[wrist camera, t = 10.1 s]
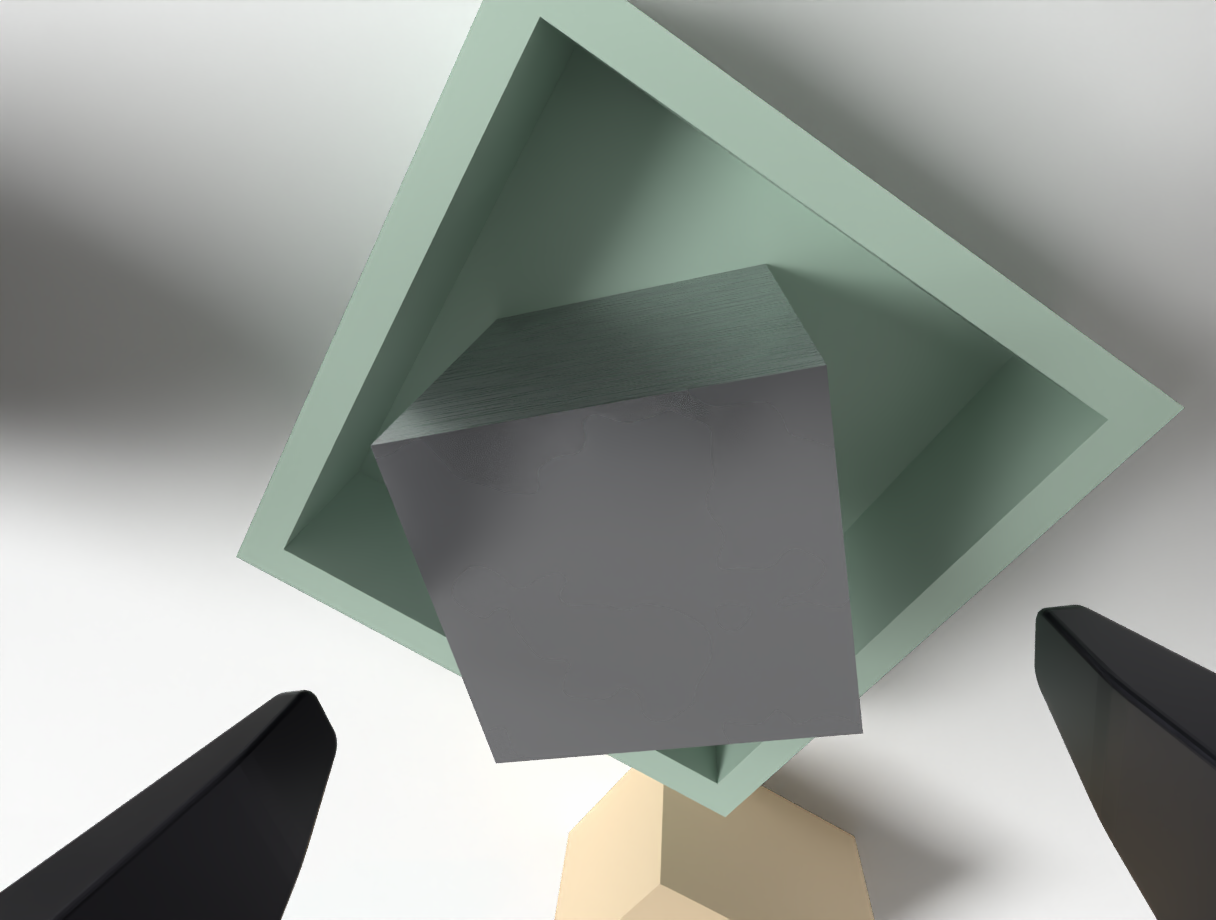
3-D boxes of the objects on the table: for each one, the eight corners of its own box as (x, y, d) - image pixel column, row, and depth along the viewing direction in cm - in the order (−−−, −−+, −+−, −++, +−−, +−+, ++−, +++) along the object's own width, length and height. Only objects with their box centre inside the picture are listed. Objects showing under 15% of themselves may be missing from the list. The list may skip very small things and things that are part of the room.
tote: (333, 464, 19) (236, 557, 15) (568, -17, 13) (518, -80, 9) (717, 682, 21) (725, 817, 17) (1053, 334, 15) (1184, 407, 11)
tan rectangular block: (569, 828, 24) (543, 986, 20) (665, 728, 22) (659, 884, 17) (743, 917, 25) (756, 1085, 21) (853, 832, 23) (893, 1002, 18)
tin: (561, 542, 18) (496, 762, 12) (496, 319, 16) (370, 445, 9) (797, 509, 17) (862, 733, 11) (765, 263, 15) (826, 364, 8)
